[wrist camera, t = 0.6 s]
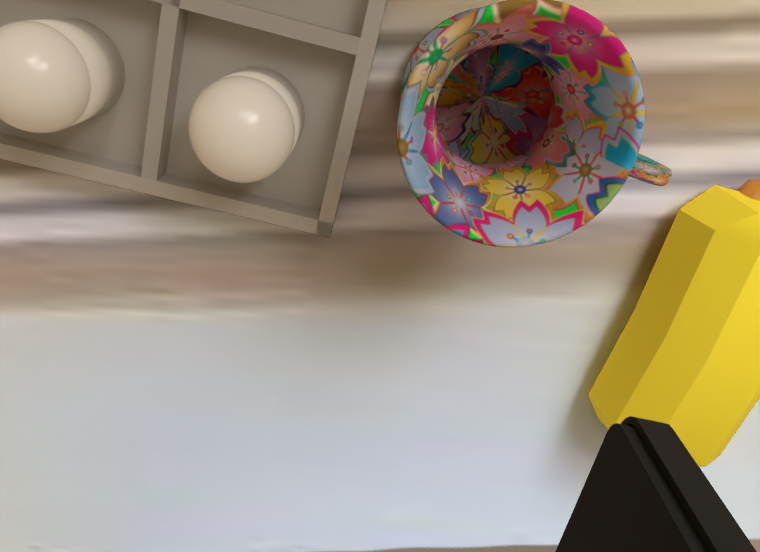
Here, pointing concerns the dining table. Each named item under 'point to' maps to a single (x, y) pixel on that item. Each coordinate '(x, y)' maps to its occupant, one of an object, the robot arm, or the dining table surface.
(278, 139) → the egg
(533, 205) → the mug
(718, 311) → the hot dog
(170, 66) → the carton
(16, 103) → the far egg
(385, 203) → the dining table surface
